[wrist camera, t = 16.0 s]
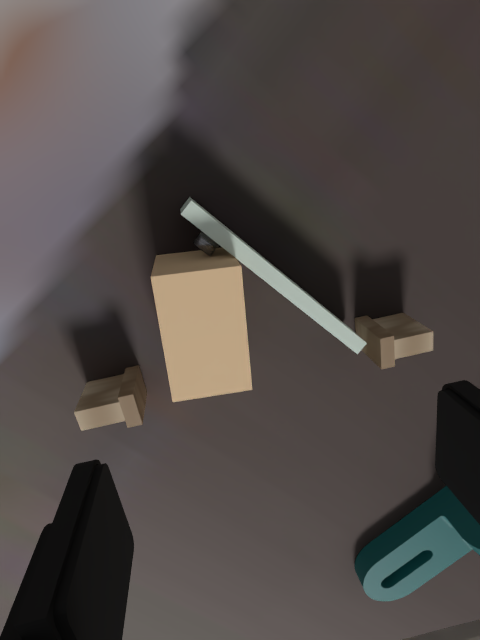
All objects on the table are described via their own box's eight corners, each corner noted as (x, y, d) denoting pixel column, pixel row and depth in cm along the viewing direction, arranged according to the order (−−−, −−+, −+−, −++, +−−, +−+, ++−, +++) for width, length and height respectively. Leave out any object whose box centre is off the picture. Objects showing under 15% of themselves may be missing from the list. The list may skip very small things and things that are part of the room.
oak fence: (402, 307, 31) (435, 326, 27) (403, 334, 32) (434, 357, 28) (85, 376, 29) (71, 408, 25) (95, 403, 30) (82, 438, 26)
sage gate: (347, 325, 31) (367, 343, 27) (329, 344, 31) (347, 364, 28) (189, 196, 26) (191, 200, 22) (171, 221, 26) (170, 228, 23)
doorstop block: (228, 246, 27) (241, 265, 22) (238, 350, 30) (252, 389, 25) (156, 255, 27) (150, 276, 21) (173, 359, 30) (172, 402, 24)
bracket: (485, 454, 38) (556, 520, 31) (513, 490, 41) (586, 559, 34) (341, 560, 41) (377, 645, 33) (376, 589, 43) (416, 673, 36)
